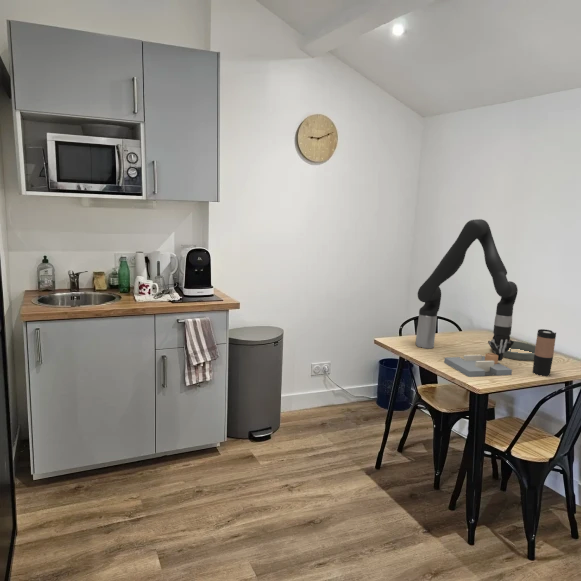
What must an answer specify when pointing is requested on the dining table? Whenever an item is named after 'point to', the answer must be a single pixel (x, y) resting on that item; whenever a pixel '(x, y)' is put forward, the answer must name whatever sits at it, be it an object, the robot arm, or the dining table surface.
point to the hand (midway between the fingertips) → (498, 360)
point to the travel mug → (544, 352)
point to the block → (491, 357)
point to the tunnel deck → (477, 366)
